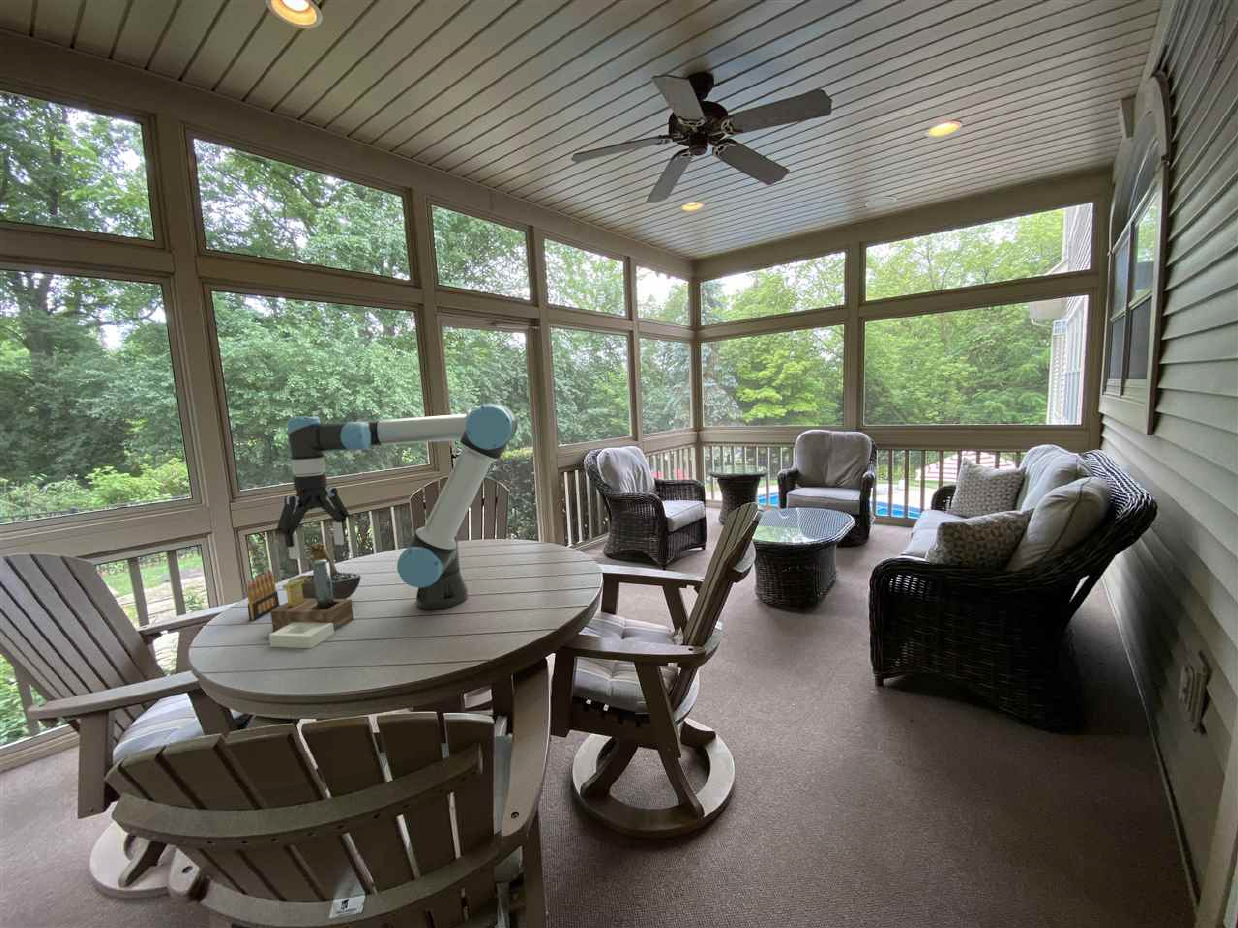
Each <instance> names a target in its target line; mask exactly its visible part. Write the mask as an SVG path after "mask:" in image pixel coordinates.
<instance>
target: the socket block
mask: <svg viewBox="0 0 1238 928" xmlns="http://www.w3.org/2000/svg"><path fill="white" fill-rule="evenodd" d="M303 600H304V602H303V603H301V604H299V605H297V606H295V607H293V608H289V606H288V601H287V602H285V603H284V604H281V605H279V607H277V608H275V609H273V610H271V611H270V612H269V613H270V619H271V620H270V621H271V628H272V633H274V632H276V631H278V630H280V629H282V628H283V627H285V626H287V625H289V624H291V623H293V622H312V623H333V628H334V632H336V631H338V630H339V629H340V628H341V629H342V627H344V626H346V625H347V624H349V623H351V622H352V621H354V620H355V619H354V611H353V610H354V609H353V602H352V599H351V598H347V599H334V606H333V607H331V608H329V609H318V607H317V599H311V598H303Z"/></svg>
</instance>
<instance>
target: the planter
mask: <svg viewBox="0 0 1238 928" xmlns="http://www.w3.org/2000/svg"><path fill="white" fill-rule="evenodd" d="M310 551H311V553H313V555H314V558H315V561H316V560H320V559H326V561H329V565H330V574H331V582H332V591H333V599H350V597H352V596H353V594H354V593H355V591H356V590H357V588H358V586H359V584H360V581H361V577H362V576H361V574H357V573H353V572H352V573H351V572H339V571H338V569H337V568H336V566H335V564H334V562H333V559H332V558H331V555H330V554H329V552H328V550H327V549H326V548H325V544H323V543H322V542H319V541H318V542H316V543H314V544H312V545H311V549H310ZM296 579H304V582H305V583H302V592H303V598H311V599H316V591H315V583H314V575H313V574H311V575H301V576H298V577H293V578H290V579H289V580H288V583H289V582H291V581H293V580H296Z"/></svg>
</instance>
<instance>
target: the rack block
mask: <svg viewBox="0 0 1238 928" xmlns="http://www.w3.org/2000/svg"><path fill="white" fill-rule="evenodd" d="M333 635H335V631H334V628H333V623H312V622H293V623H291V624H289V625H287V626H285V627H283V628H282V629H280V630H278V631H276V632H272V633H270V634H269V635H268V638H269V644H270V645H269V646H270V647H277V648H278V647H279V648H296V649H297V648H299V649H300V648H301V649H302V648H303V649H312V648H314V647H316V646H317V645H318V644H320V643H322V642H323V641H325V640H327V639H328V638H330V637H331V636H333Z"/></svg>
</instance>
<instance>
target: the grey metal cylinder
mask: <svg viewBox="0 0 1238 928" xmlns="http://www.w3.org/2000/svg"><path fill="white" fill-rule="evenodd" d="M312 572H313V573H312V575H314V583H315V591H316V599H317V607H318V609H329V608H331V607H333V606H334V599H333V591H332V582H331V574H330V565H329V561H326V559H320V560H316V559H315V560H314V563H312Z"/></svg>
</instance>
